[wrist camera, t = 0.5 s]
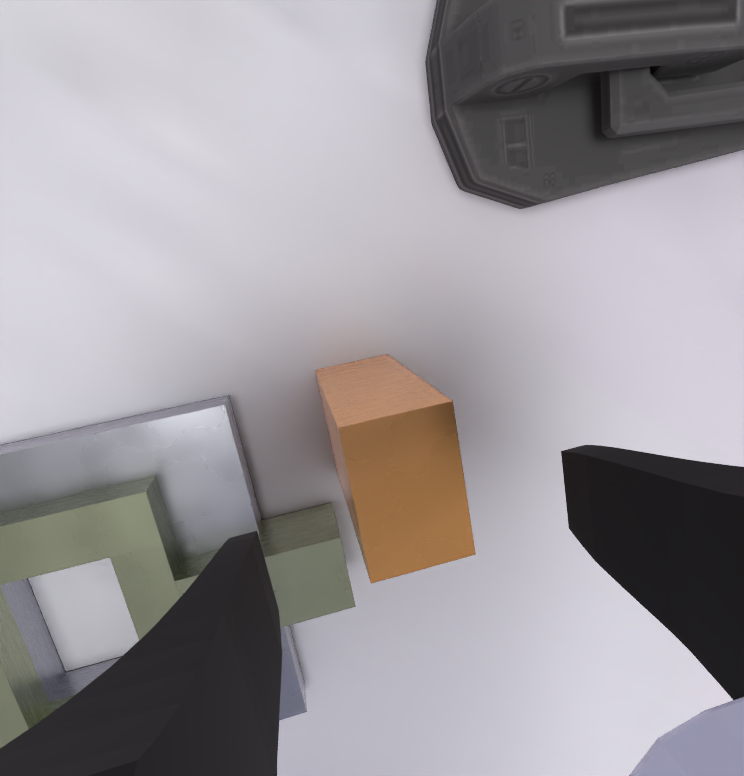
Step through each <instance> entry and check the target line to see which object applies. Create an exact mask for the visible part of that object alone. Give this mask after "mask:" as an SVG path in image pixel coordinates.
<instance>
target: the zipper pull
mask: <svg viewBox="0 0 744 776" xmlns="http://www.w3.org/2000/svg"><path fill="white" fill-rule="evenodd" d="M426 70H427V80H428V90H429V100H430V109H431V119H432V125H433V128H434V130H435V132H436V135H437V137H438V140H439V142H440V144H441V147H442V149H443V152H444V154H445V156H446V159H447V161H448V163H449V166H450V168H451V171H452V173H453V175H454V178H455V180H456V183H457V185H458V187H459V188H460V189H462V190H463V191H466V192H469V193H473V194H476V195H479V196H482V197H485V198H488V199H491V200H494V201H497V202H500V203H503V204H507V205H510V206H513V207H516V208H519V209H522V208H527V207H530V206H534V205H538V204H541V203H545V202H549V201H552V200H556V199H559V198H563V197H567V196H570V195H574V194H577V193H581V192H584V191H588V190H592V189H595V188H599V187H602V186H606V185H609V184H613V183H617V182H621V181H625V180H629V179H632V178H636V177H640V176H644V175H648V174H652V173H656V172H660V171H663V170H667V169H671V168H675V167H679V166H683V165H687V164H690V163H694V162H698V161H702V160H706V159H710V158H714V157H718V156H721V155H725V154H729V153H733V152H736V151H740V150H744V0H437V4H436V9H435V14H434V20H433V25H432V30H431V36H430V41H429V46H428V52H427V57H426Z"/></svg>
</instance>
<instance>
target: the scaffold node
mask: <svg viewBox="0 0 744 776" xmlns="http://www.w3.org/2000/svg"><path fill="white" fill-rule="evenodd" d="M254 531H257V532H258V536H259V540H260V543H261V547H262V550H263V554H264V558H265V561H266V565H267V569H268V572H269V576H270V580H271V583H272V587H273V591H274V594H275V598H276V601H277V605H278V609H279V617H280V629H281V642H282V672H281V693H280V712H279V720H281V719H285V718H288V717H291V716H294V715H298V714H301V713H304V712H307V708H306V693H305V683H304V679H303V675H302V672H301V668H300V664H299V660H298V656H297V653H296V649H295V645H294V641H293V637H292V634H291V630H290V626H289V625H292V624H295V623H299V622H302V621H306V620H310V619H313V618H317V617H320V616H324V615H327V614H331V613H334V612H338V611H341V610H345V609H348V608H352V607H355V602H354V597H353V593H352V588H351V584H350V579H349V575H348V570H347V566H346V561H345V557H344V552H343V548H342V543H341V539H340V535H339V530H338V526H337V522H336V518H335V514H334V510H333V505H332V503H328V504H324V505H320V506H316V507H312V508H308V509H304V510H300V511H296V512H293V513H289V514H285V515H281V516H277V517H273V518H269V519H265V520H261V516H260V512H259V509H258V505H257V501H256V497H255V493H254V490H253V486H252V482H251V478H250V474H249V471H248V467H247V463H246V459H245V455H244V452H243V448H242V444H241V440H240V436H239V433H238V429H237V425H236V421H235V418H234V414H233V410H232V406H231V402H230V399H229V395H228V396H224V397H219V398H215V399H210V400H206V401H201V402H196V403H192V404H187V405H183V406H178V407H174V408H169V409H164V410H160V411H155V412H151V413H146V414H141V415H137V416H132V417H128V418H123V419H119V420H114V421H109V422H105V423H100V424H96V425H91V426H87V427H82V428H77V429H73V430H68V431H64V432H59V433H55V434H50V435H45V436H41V437H36V438H32V439H27V440H22V441H18V442H13V443H9V444H4V445H0V748H2V747H3V746H5V745H6V744H7V743H9V742H10V741H12V740H13V739H15V738H16V737H18V736H19V735H21V734H22V733H24V732H25V731H27V730H28V729H30V728H31V727H33V726H34V725H35V724H37V723H38V722H40V721H41V720H42V719H44V718H45V717H47V716H48V715H49V714H51V713H52V712H54V711H55V710H56V709H58V708H59V707H61V706H62V705H63V704H65V703H66V702H67V701H68V700H70V699H71V698H72V697H73V696H75V695H76V694H77V693H78V692H80V691H81V690H82V689H83V688H85V687H86V686H87V685H88V684H90V683H91V682H92V681H93V680H95V679H96V678H97V677H98V676H100V675H101V674H102V673H103V672H105V671H106V670H107V669H108V668H110V667H111V666H112V665H113V664H114V663H115V662H117V661H118V660H119V659H120V658H121V657H119V658H116V659H112V660H109V661H105V662H102V663H98V664H94V665H91V666H87V667H84V668H80V669H76V670H73V671H69V672H66V673H65V671H64V668H63V666H62V663H61V661H60V658H59V656H58V654H57V651H56V649H55V646H54V644H53V641H52V639H51V636H50V634H49V631H48V629H47V626H46V624H45V621H44V619H43V617H42V614H41V612H40V609H39V607H38V604H37V602H36V599H35V597H34V594H33V592H32V589H31V587H30V584H29V582H28V580H27V578H30V577H34V576H38V575H42V574H46V573H50V572H54V571H58V570H62V569H66V568H70V567H74V566H78V565H82V564H86V563H90V562H94V561H98V560H102V559H105V558H109V557H110V559H111V561H112V564H113V567H114V570H115V573H116V575H117V578H118V581H119V584H120V587H121V590H122V592H123V595H124V598H125V601H126V604H127V607H128V609H129V612H130V615H131V618H132V621H133V623H134V626H135V629H136V632H137V635H138V638H139V640H141V639H142V638H143V637H144V636H145V635H146V634H147V633H148V632H149V631H150V630H151V629H152V628H153V627H154V626H155V625H156V624H157V623H158V622H159V620H160V619H161V618H162V617H163V616H164V615H165V614H166V613H167V612H168V610H169V609H170V608H171V607H172V606H173V605H174V604H175V603H176V602H177V600H178V599H179V598H180V597H181V596H182V595H183V594H184V593H185V592H186V590H187V589H188V588H189V587H190V586H191V584H192V583H193V582H194V581H195V579H196V578H197V577H198V576H199V574H200V573H201V572H202V571H203V570H204V568H205V567H206V566H207V565H208V563H209V562H210V561H211V559H212V558H213V557H214V556H215V554H216V553H217V552H218V550H219V549H220V548H221V547H222V545H223V544H224V543H225V542H226V541H227V540H228V539H229V538H231V537H235V536H239V535H243V534H246V533H250V532H254Z"/></svg>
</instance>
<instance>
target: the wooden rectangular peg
mask: <svg viewBox="0 0 744 776" xmlns="http://www.w3.org/2000/svg"><path fill="white" fill-rule="evenodd" d="M315 372H316V376H317V381H318V385H319V390H320V395H321V399H322V404H323V409H324V413H325V418H326V422H327V427H328V432H329V436H330V441H331V446H332V450H333V455H334V459H335V464H336V469H337V473H338V476H339V480H340V483H341V486H342V490H343V493H344V496H345V499H346V503H347V506H348V509H349V513H350V516H351V519H352V522H353V526H354V529H355V532H356V536H357V539H358V542H359V545H360V549H361V552H362V555H363V559H364V562H365V565H366V569H367V572H368V575H369V578H370V582H371V583H374V582H378V581H382V580H385V579H389V578H392V577H396V576H400V575H403V574H407V573H410V572H414V571H418V570H421V569H425V568H428V567H432V566H436V565H439V564H443V563H446V562H450V561H454V560H457V559H461V558H464V557H468V556H472V555H475V548H474V541H473V534H472V528H471V521H470V514H469V508H468V501H467V494H466V487H465V481H464V474H463V467H462V461H461V454H460V447H459V441H458V434H457V427H456V421H455V414H454V407H453V401H452V400H450V399H449V398H448V397H446V396H445V395H443V394H442V393H441V392H439V391H438V390H436V389H435V388H434V387H432V386H431V385H429V384H428V383H427V382H425V381H424V380H422V379H421V378H420V377H418V376H417V375H415V374H414V373H413V372H411V371H410V370H408V369H407V368H406V367H404V366H403V365H402V364H400V363H399V362H397V361H396V360H395V359H393V358H392V357H390V356H389V355H388V354H387V355H382V356H378V357H373V358H368V359H364V360H359V361H355V362H350V363H345V364H341V365H336V366H332V367H327V368H322V369H318V370H315Z"/></svg>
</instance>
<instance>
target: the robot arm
mask: <svg viewBox="0 0 744 776" xmlns="http://www.w3.org/2000/svg"><path fill="white" fill-rule="evenodd" d="M561 454H562V464H563V473H564V483H565V493H566V503H567V513H568V523H569V529H570V530H571V531H572V533H573V534H574V535H575V537H576V538H577V539H578V540H579V542H580V543H581V544H582V546H583V547H584V548H585V549H586V550H587V552H588V553H589V554H590V555H591V556H592V558H593V559H594V560H595V561H596V562H597V563H598V564H599V565H600V566H601V567H602V568H603V569H604V570H605V571H606V572H607V573H608V574H609V575H610V576H611V577H613V578H614V579H615V580H616V581H617V582H618V583H619V584H620V585H621V586H622V587H623V588H624V589H625V590H626V591H627V592H629V593H630V594H631V595H632V596H633V597H634V598H635V599H636V600H637V601H638V602H639V603H640V604H642V605H643V606H644V607H645V608H646V609H647V610H648V611H649V612H650V613H651V614H652V615H653V616H655V617H656V618H657V619H658V620H659V621H660V622H661V623H662V624H663V625H664V626H665V627H666V628H667V629H669V630H670V631H671V632H672V633H673V634H674V635H675V636H676V637H677V638H678V639H679V640H680V641H681V642H682V643H683V644H684V645H685V646H686V647H687V648H688V649H689V650H690V651H691V652H692V654H693V655H694V656H695V657H696V658H697V659H698V660H699V661H700V663H701V664H702V665H703V666H704V667H705V668H706V669H707V670H708V672H709V673H710V674H711V675H712V676H713V677H714V678H715V679H716V680H717V682H718V683H719V684H720V685H721V686H722V687H723V688H724V689H725V691H726V692H727V693H728V694H729V695H730V696H731V698H732V699H733V700H734V701H731V702H728V703H725V704H722V705H719V706H716V707H713V708H711V709H708V710H705V711H703V712H701V713H700V714H698V715H696V716H695V717H693V718H691V719H690V720H688V721H686V722H685V723H683V724H681V725H679V726H678V727H676V728H674V729H673V730H671V731H669V732H668V733H666V734H664V735H663V736H661V737H659V738H658V739H657V740H656V741H655V743H654V744H653V745H652V747H651V748H650V749H649V751H648V752H647V753H646V754H645V756H644V757H643V758H642V760H641V761H640V762H639V763H638V765H637V766H636V767H635V769H634V770H633V771H632V773H631V774H630V775H629V776H744V467H738V466H729V465H722V464H714V463H707V462H699V461H693V460H686V459H680V458H674V457H668V456H662V455H656V454H650V453H644V452H638V451H632V450H626V449H620V448H613V447H606V446H596V445H583V446H580V447H576V448H572V449H568V450H564V451H561ZM281 672H282V642H281V629H280V617H279V609H278V605H277V601H276V598H275V594H274V591H273V587H272V583H271V580H270V576H269V572H268V569H267V565H266V561H265V558H264V554H263V550H262V547H261V543H260V540H259V536H258V532H257V531H254V532H250V533H246V534H243V535H239V536H235V537H231V538H229V539H228V540H227V541H226V542H225V543H224V544H223V545H222V547H221V548H220V549H219V550H218V552H217V553H216V554H215V556H214V557H213V558H212V559H211V561H210V562H209V563H208V565H207V566H206V567H205V568H204V570H203V571H202V572H201V573H200V574H199V576H198V577H197V578H196V579H195V581H194V582H193V583H192V584H191V586H190V587H189V588H188V589H187V590H186V592H185V593H184V594H183V595H182V596H181V597H180V598H179V599H178V600H177V602H176V603H175V604H174V605H173V606H172V607H171V608H170V609H169V610H168V612H167V613H166V614H165V615H164V616H163V617H162V618H161V619H160V620H159V622H158V623H157V624H156V625H155V626H154V627H153V628H152V629H151V630H150V631H149V632H148V633H147V634H146V635H145V636H144V637H143V638H142V639H141V640H140V641H138V642H137V643H136V644H135V645H134V646H133V647H132V648H131V649H130V650H129V651H128V652H127V653H125V654H124V655H123V656H122V657H121V658H120V659H119V660H118V661H117V662H115V663H114V664H113V665H112V666H111V667H110V668H108V669H107V670H106V671H105V672H103V673H102V674H101V675H100V676H98V677H97V678H96V679H95V680H93V681H92V682H91V683H90V684H88V685H87V686H86V687H85V688H83V689H82V690H81V691H80V692H78V693H77V694H76V695H75V696H73V697H72V698H71V699H70V700H68V701H67V702H66V703H65V704H63V705H62V706H61V707H59V708H58V709H56V710H55V711H54V712H52V713H51V714H49V715H48V716H47V717H45V718H44V719H42V720H41V721H40V722H38V723H37V724H35V725H34V726H33V727H31V728H30V729H28V730H27V731H25V732H24V733H22V734H21V735H19V736H18V737H16V738H15V739H13V740H12V741H10V742H9V743H7V744H6V745H5V746H3V747H2V748H0V776H277V750H278V731H279V712H280V693H281Z"/></svg>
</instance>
